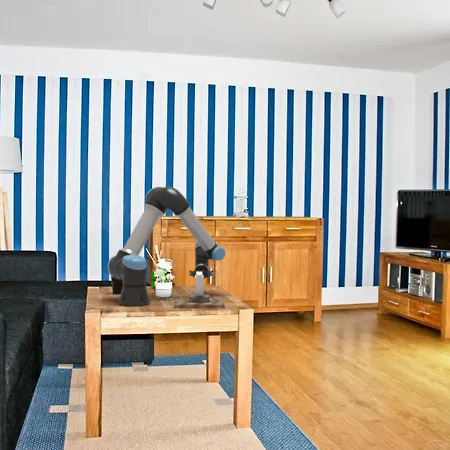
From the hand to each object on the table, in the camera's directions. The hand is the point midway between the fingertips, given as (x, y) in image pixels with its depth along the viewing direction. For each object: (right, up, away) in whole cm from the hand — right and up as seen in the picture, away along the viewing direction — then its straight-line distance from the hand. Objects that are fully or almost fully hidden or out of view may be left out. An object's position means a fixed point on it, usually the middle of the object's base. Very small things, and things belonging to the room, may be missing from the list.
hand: (200, 276), depth 317 cm
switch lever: (0, -9, -9) cm, 12 cm away
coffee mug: (-46, -12, +30) cm, 56 cm away
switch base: (0, -13, -8) cm, 16 cm away
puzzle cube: (-24, -11, +51) cm, 57 cm away
